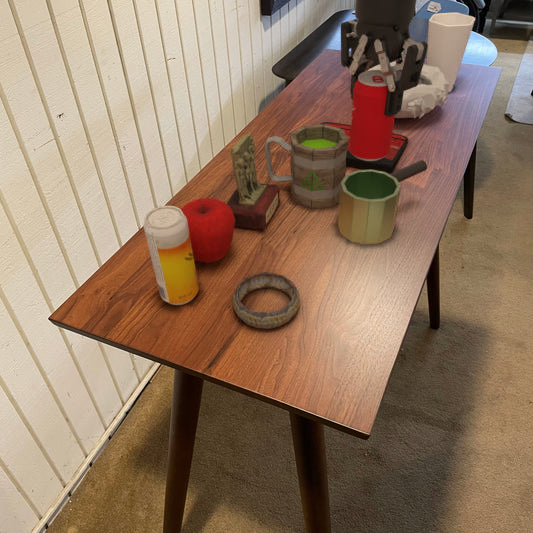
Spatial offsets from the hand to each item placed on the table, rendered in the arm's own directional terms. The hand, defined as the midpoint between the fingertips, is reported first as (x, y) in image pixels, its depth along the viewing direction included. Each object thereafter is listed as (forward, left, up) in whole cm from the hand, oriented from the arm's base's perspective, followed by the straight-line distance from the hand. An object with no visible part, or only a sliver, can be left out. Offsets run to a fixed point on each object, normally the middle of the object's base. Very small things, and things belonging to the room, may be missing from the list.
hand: (374, 106), depth 74 cm
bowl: (-33, -38, -24) cm, 56 cm away
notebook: (-14, -28, -24) cm, 39 cm away
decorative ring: (+22, +10, -24) cm, 34 cm away
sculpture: (+15, -14, -24) cm, 31 cm away
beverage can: (0, 0, -8) cm, 8 cm away
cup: (-50, -47, -24) cm, 72 cm away
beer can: (+33, +1, -24) cm, 41 cm away
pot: (-6, -2, -24) cm, 25 cm away
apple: (+26, -6, -24) cm, 36 cm away
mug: (+3, -17, -24) cm, 29 cm away
